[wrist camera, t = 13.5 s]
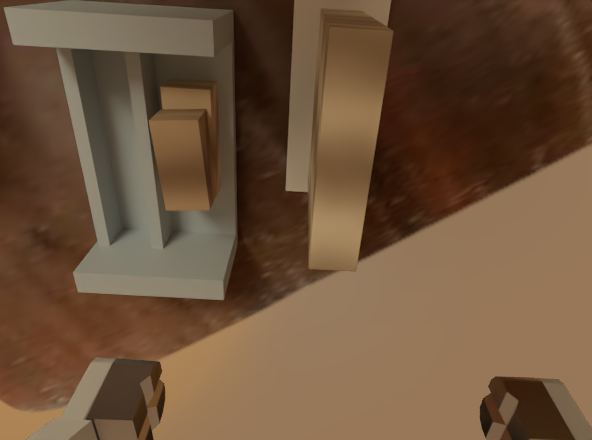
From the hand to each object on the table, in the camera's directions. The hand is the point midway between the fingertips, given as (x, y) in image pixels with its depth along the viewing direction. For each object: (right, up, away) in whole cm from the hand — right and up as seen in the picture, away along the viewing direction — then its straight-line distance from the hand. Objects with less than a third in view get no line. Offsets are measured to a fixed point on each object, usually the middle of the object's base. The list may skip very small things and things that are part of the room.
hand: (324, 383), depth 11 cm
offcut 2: (-9, +9, +23) cm, 26 cm away
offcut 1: (-9, +11, +25) cm, 29 cm away
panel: (+2, +13, +24) cm, 28 cm away
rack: (-12, +11, +26) cm, 31 cm away
